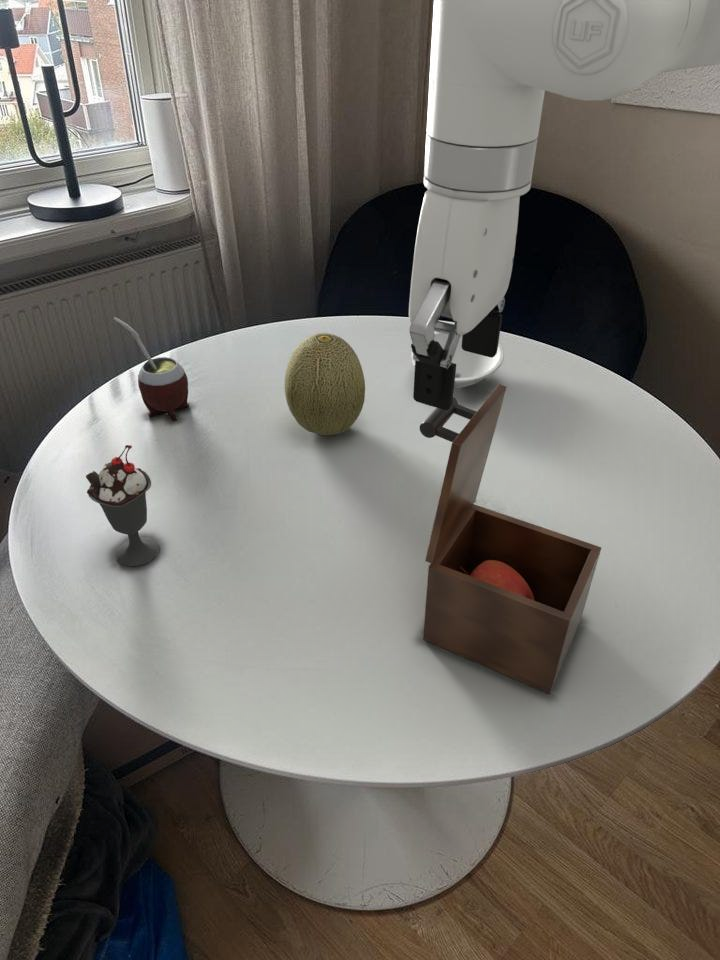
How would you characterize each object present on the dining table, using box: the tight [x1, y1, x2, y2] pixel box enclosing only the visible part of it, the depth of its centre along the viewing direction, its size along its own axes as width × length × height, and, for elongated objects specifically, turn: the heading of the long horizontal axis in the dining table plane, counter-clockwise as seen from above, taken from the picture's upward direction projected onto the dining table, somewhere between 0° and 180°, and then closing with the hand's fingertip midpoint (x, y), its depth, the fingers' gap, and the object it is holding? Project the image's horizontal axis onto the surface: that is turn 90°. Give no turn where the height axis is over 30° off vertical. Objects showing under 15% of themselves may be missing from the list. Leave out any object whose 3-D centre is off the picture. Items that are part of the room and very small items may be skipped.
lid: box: [419, 383, 507, 565], centre depth 66 cm, size 14×11×5 cm
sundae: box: [85, 444, 160, 567], centre depth 79 cm, size 7×7×15 cm
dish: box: [411, 331, 505, 388], centre depth 113 cm, size 18×14×5 cm
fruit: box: [284, 332, 366, 436], centre depth 99 cm, size 11×11×15 cm
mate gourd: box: [113, 316, 190, 423], centre depth 103 cm, size 8×8×15 cm
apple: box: [460, 560, 534, 600], centre depth 72 cm, size 7×7×8 cm
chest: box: [422, 503, 602, 695], centre depth 71 cm, size 14×11×11 cm
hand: (456, 377), depth 60 cm, fingers open, 9 cm apart
